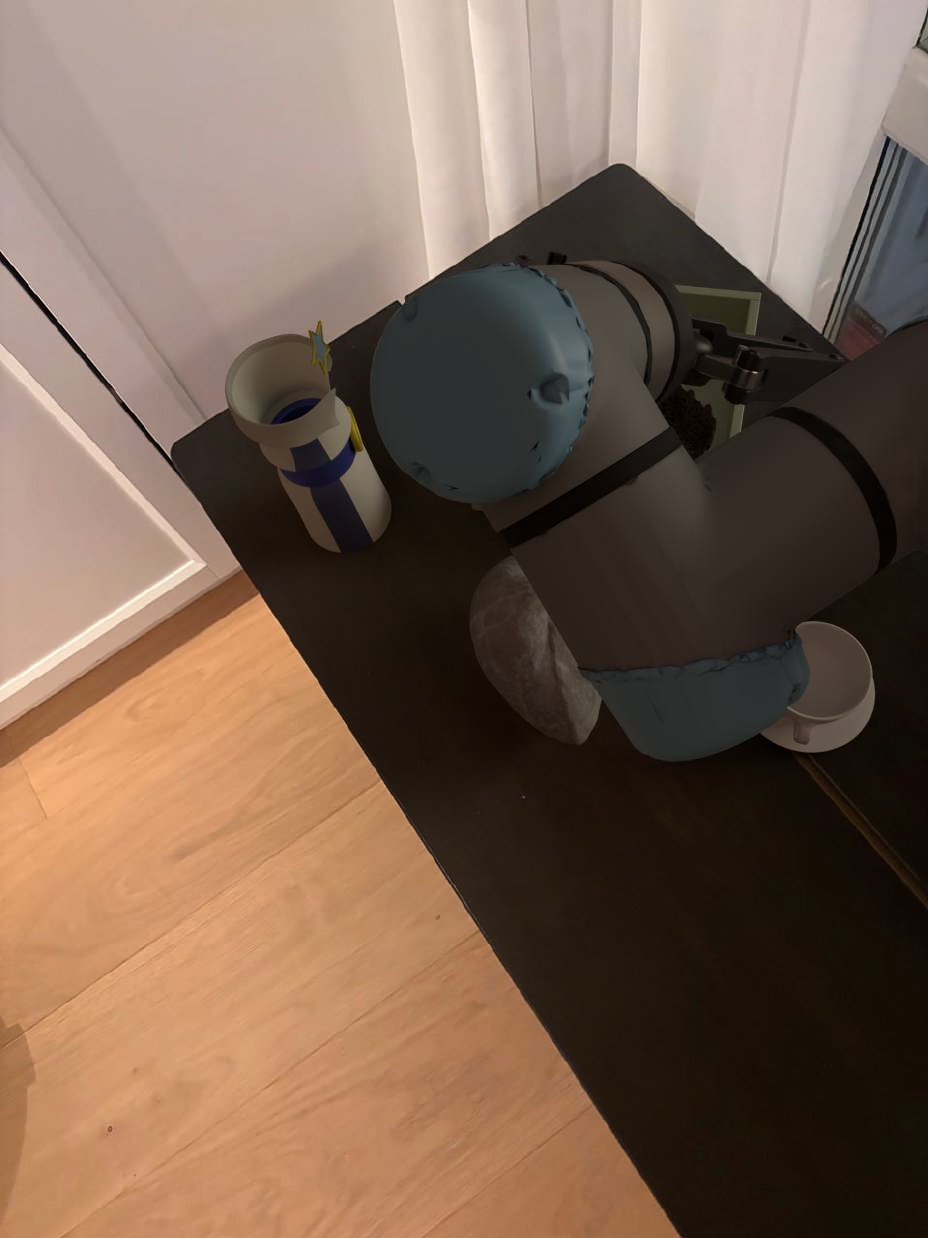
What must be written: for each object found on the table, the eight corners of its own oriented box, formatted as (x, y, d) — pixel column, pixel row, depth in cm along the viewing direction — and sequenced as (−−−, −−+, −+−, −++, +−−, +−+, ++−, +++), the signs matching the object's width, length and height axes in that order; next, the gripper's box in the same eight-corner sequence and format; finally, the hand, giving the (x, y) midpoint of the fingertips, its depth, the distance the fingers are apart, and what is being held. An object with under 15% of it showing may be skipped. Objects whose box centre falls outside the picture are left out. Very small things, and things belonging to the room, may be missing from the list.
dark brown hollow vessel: (723, 483, 75) (737, 430, 67) (651, 533, 74) (658, 484, 67) (665, 422, 77) (673, 365, 70) (595, 469, 77) (596, 416, 69)
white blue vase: (382, 455, 81) (300, 250, 58) (406, 537, 78) (329, 356, 54) (294, 483, 81) (176, 290, 58) (314, 566, 78) (198, 397, 55)
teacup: (746, 615, 71) (756, 592, 67) (880, 641, 69) (899, 620, 65) (725, 737, 68) (734, 721, 64) (864, 768, 66) (883, 754, 62)
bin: (718, 546, 74) (728, 513, 68) (472, 510, 78) (463, 476, 72) (749, 337, 80) (761, 292, 75) (521, 313, 84) (516, 269, 79)
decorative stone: (649, 734, 69) (664, 677, 55) (521, 780, 69) (504, 735, 55) (578, 565, 75) (575, 475, 61) (459, 608, 75) (429, 527, 61)
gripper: (354, 344, 47) (509, 316, 65) (827, 520, 40) (856, 435, 58) (382, 189, 44) (538, 204, 62) (905, 353, 37) (911, 317, 55)
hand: (693, 316), depth 60 cm, fingers open, 13 cm apart
